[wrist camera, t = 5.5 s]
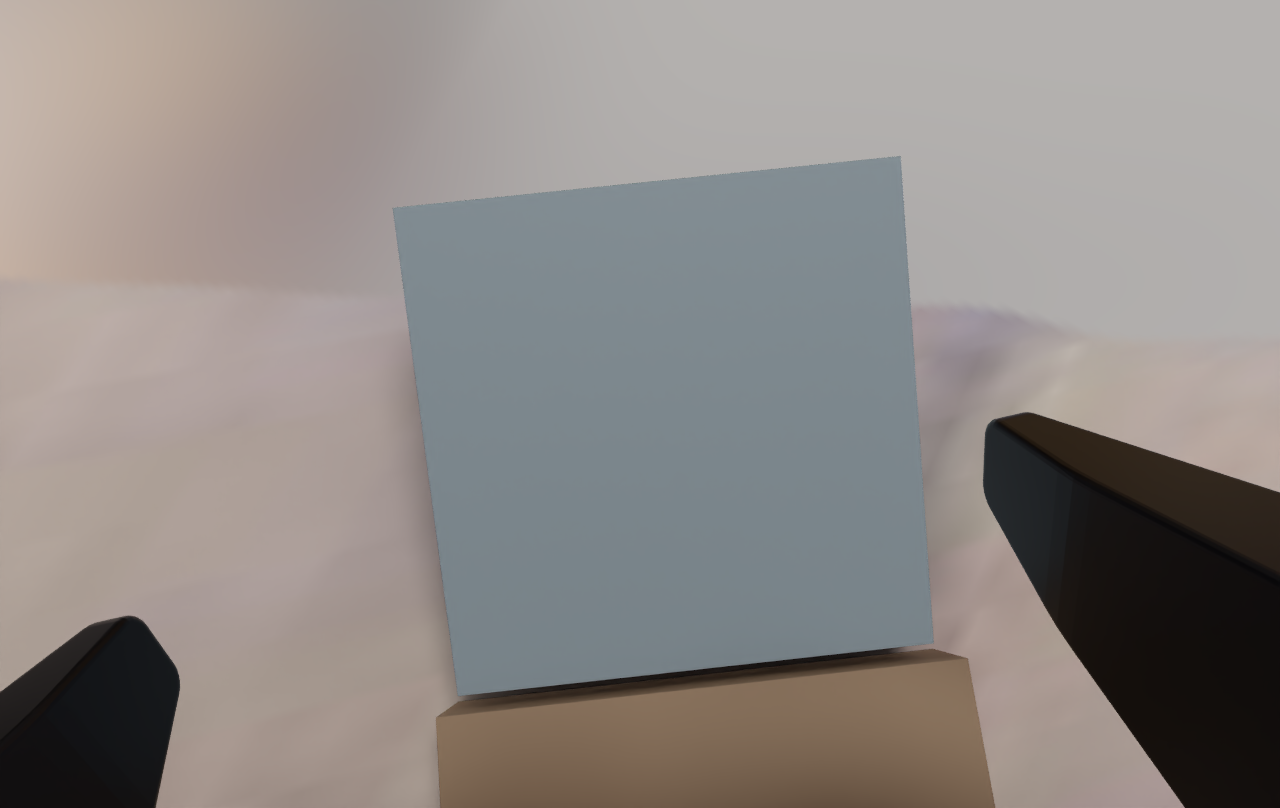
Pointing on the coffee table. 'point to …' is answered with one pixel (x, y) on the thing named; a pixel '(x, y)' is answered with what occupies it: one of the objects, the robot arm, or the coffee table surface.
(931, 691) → the block
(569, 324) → the panel
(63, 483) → the coffee table surface
